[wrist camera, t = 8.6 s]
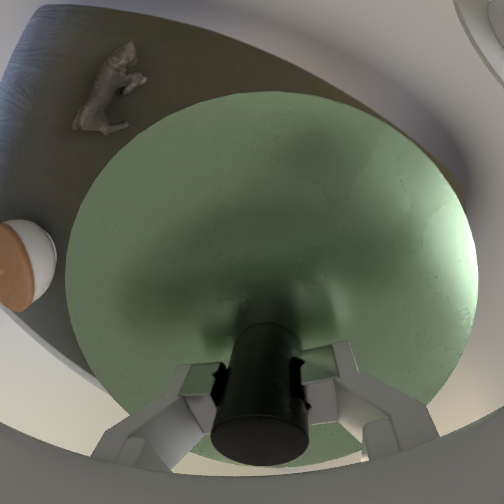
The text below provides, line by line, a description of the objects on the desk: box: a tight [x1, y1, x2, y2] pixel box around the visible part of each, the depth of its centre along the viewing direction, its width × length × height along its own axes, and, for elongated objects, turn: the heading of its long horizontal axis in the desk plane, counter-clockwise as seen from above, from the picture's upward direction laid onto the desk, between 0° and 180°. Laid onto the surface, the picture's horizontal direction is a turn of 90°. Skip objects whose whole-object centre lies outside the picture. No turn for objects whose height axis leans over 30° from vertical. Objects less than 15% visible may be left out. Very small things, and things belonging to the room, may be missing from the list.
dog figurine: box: [72, 41, 148, 135], centre depth 25 cm, size 12×6×7 cm, turn 151°
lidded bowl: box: [0, 219, 57, 312], centre depth 31 cm, size 13×13×11 cm
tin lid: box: [65, 91, 478, 468], centre depth 8 cm, size 17×17×5 cm
